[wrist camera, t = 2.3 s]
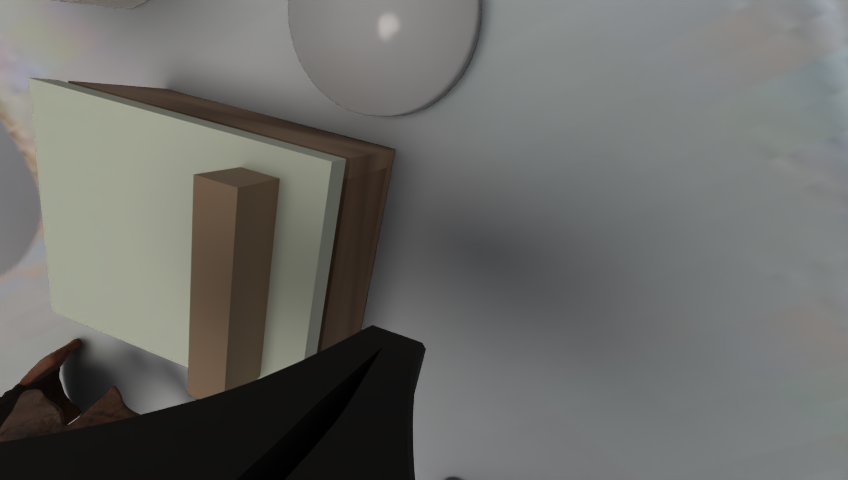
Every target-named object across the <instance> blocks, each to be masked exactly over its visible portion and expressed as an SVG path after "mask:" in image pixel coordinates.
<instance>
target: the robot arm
mask: <svg viewBox="0 0 848 480" xmlns="http://www.w3.org/2000/svg"><path fill="white" fill-rule="evenodd" d="M425 350H426V349H425V347H424V345H423V343H421V342H419V341H416V340H413V339H410V338H407V337H404V336H402V335H399V334H396V333H393V332H390V331H387V330H385V329H382V328H379V327H376V326H373V325H372V326H370V327H368V328H366V329H364V330H362V331H360V332H358V333H356V334H354V335H352V336H350V337H348V338H346V339H344V340H342V341H340V342H338V343H336V344H334V345H332V346H330V347H328V348H326V349H324V350H322V351H320V352H318V353H316V354H314V355H312V356H310V357H308V358H306V359H304V360H302V361H300V362H297V363H295V364H293V365H290V366H288V367H286V368H283V369H281V370H279V371H276V372H274V373H272V374H269V375H267V376H265V377H262V378H260V379H257V380H255V381H252V382H249V383H247V384H244V385H241V386H238V387H236V388H233V389H230V390H227V391H224V392H220V393H217V394H214V395H211V396H208V397H205V398H202V399H199V400H195V401H192V402H188V403H184V404H181V405H177V406H173V407H169V408H165V409H161V410H158V411H154V412H150V413H146V414H142V415H139V416H135V417H131V418H126V419H122V420H118V421H113V422H108V423H103V424H99V425H94V426H89V427H84V428H79V429H73V430H68V431H63V432H57V433H52V434H47V435H41V436H35V437H29V438H23V439H17V440H10V441H2V442H0V480H415V474H414V458H413V405H414V393H415V389H416V385H417V381H418V377H419V373H420V370H421V366H422V362H423V358H424V354H425Z"/></svg>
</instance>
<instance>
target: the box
mask: <svg viewBox="0 0 848 480" xmlns="http://www.w3.org/2000/svg"><path fill="white" fill-rule="evenodd" d="M68 83H70V84H74V85H78V86H81V87H85V88H89V89H92V90H96V91H100V92H103V93H107V94H111V95H114V96H118V97H122V98H125V99H129V100H133V101H136V102H140V103H144V104H147V105H151V106H154V107H158V108H162V109H165V110H169V111H173V112H176V113H180V114H184V115H187V116H191V117H195V118H198V119H202V120H206V121H209V122H213V123H217V124H220V125H224V126H228V127H231V128H235V129H239V130H242V131H246V132H250V133H253V134H257V135H260V136H264V137H268V138H271V139H275V140H279V141H282V142H286V143H290V144H293V145H297V146H301V147H304V148H308V149H312V150H315V151H319V152H323V153H326V154H330V155H334V156H337V157H341V158H345V159H346V163H345V170H344V176H343V183H342V190H341V196H340V203H339V209H338V216H337V223H336V229H335V236H334V242H333V249H332V256H331V262H330V269H329V275H328V282H327V289H326V295H325V302H324V308H323V315H322V322H321V328H320V335H319V341H318V348H317V353H318V352H320V351H322V350H324V349H326V348H328V347H330V346H332V345H334V344H336V343H338V342H340V341H342V340H344V339H346V338H348V337H350V336H352V335H354V334H356V333H358V332H360V331H361V326H362V321H363V316H364V310H365V305H366V300H367V295H368V289H369V284H370V279H371V273H372V268H373V263H374V258H375V252H376V247H377V242H378V237H379V231H380V226H381V221H382V216H383V210H384V205H385V200H386V194H387V189H388V184H389V179H390V173H391V168H392V163H393V158H394V152H395V149H392V148H388V147H384V146H381V145H377V144H373V143H369V142H365V141H362V140H358V139H354V138H350V137H346V136H342V135H339V134H335V133H331V132H327V131H323V130H320V129H316V128H312V127H308V126H304V125H300V124H297V123H293V122H289V121H285V120H281V119H278V118H274V117H270V116H266V115H262V114H259V113H255V112H251V111H247V110H243V109H239V108H236V107H232V106H228V105H224V104H220V103H217V102H213V101H209V100H205V99H201V98H197V97H194V96H190V95H186V94H182V93H178V92H175V91H171V90H167V89H161V88H149V87H136V86H124V85H112V84H100V83H87V82H75V81H68Z"/></svg>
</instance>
